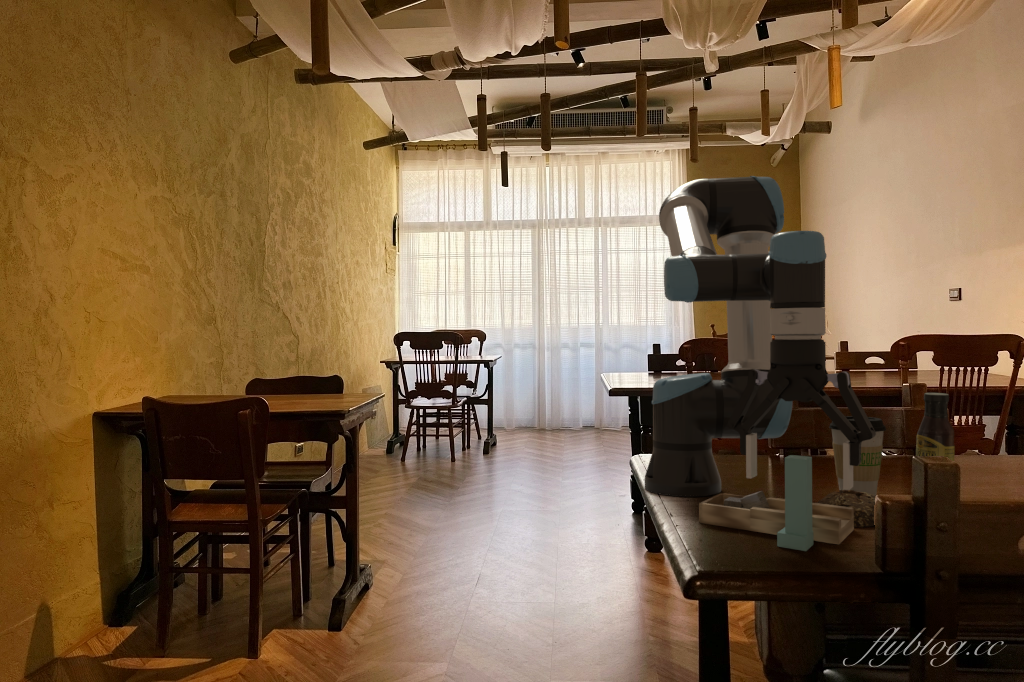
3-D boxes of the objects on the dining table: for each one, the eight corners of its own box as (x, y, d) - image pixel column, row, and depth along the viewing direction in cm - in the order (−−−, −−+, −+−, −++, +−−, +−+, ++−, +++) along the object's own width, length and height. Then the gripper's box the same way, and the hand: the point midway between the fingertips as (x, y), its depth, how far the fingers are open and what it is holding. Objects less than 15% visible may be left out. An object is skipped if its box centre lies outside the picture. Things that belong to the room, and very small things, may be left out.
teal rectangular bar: (813, 544, 103) (812, 456, 103) (806, 551, 100) (805, 460, 100) (785, 540, 106) (784, 453, 106) (777, 546, 103) (776, 457, 103)
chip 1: (741, 520, 115) (723, 517, 117) (747, 516, 118) (730, 514, 120) (741, 502, 115) (723, 499, 117) (747, 499, 118) (730, 496, 120)
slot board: (853, 529, 111) (853, 507, 111) (838, 544, 103) (838, 520, 103) (721, 510, 124) (721, 491, 124) (699, 522, 116) (698, 501, 116)
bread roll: (908, 521, 117) (907, 491, 117) (865, 532, 111) (864, 500, 111) (837, 506, 128) (837, 479, 128) (794, 515, 121) (794, 487, 121)
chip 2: (747, 516, 115) (740, 498, 115) (753, 513, 117) (746, 495, 118) (764, 511, 113) (756, 493, 114) (770, 508, 115) (762, 490, 116)
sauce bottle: (908, 494, 136) (907, 392, 136) (938, 493, 136) (937, 391, 136) (931, 502, 129) (930, 394, 129) (963, 501, 130) (962, 394, 130)
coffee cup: (894, 503, 129) (893, 421, 129) (836, 501, 131) (836, 421, 131) (877, 492, 138) (877, 416, 138) (824, 490, 140) (823, 415, 140)
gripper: (705, 338, 107) (706, 476, 108) (888, 338, 92) (888, 498, 92) (723, 337, 113) (724, 468, 114) (897, 337, 98) (898, 488, 98)
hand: (798, 482), depth 103 cm, fingers open, 13 cm apart
